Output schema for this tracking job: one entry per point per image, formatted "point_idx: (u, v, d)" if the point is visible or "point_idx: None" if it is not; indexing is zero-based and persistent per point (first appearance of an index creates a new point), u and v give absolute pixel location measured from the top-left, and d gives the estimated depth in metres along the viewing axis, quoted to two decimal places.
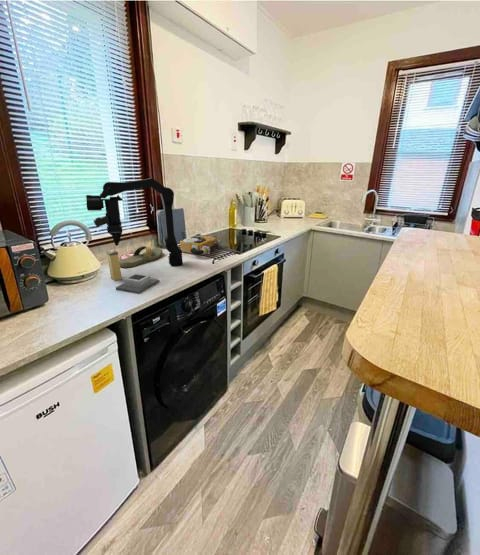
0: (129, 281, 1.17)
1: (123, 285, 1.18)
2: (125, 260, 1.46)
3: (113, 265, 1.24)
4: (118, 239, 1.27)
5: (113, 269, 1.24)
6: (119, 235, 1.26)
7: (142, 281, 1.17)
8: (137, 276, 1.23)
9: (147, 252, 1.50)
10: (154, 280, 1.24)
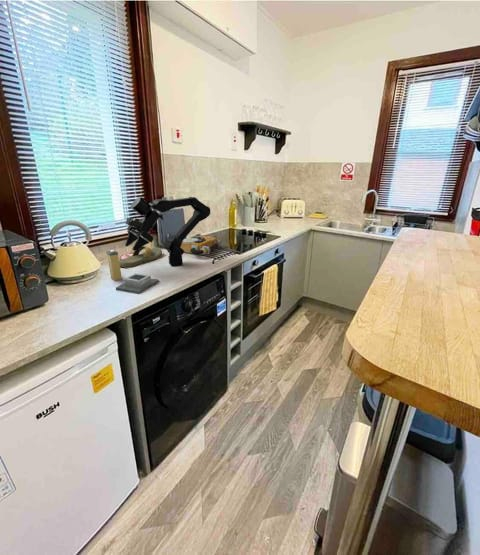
0: (129, 281, 1.17)
1: (123, 285, 1.18)
2: (124, 260, 1.46)
3: (113, 265, 1.24)
4: (139, 246, 1.26)
5: (113, 269, 1.24)
6: (143, 243, 1.26)
7: (142, 281, 1.17)
8: (137, 276, 1.23)
9: (146, 252, 1.50)
10: (154, 280, 1.24)
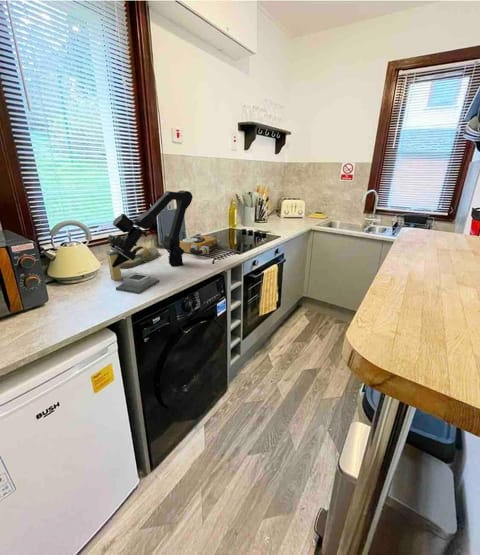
0: (129, 281, 1.17)
1: (123, 285, 1.18)
2: None
3: None
4: (119, 263, 1.24)
5: (113, 269, 1.24)
6: (124, 260, 1.25)
7: (142, 281, 1.17)
8: (137, 276, 1.23)
9: (145, 252, 1.51)
10: (154, 280, 1.24)
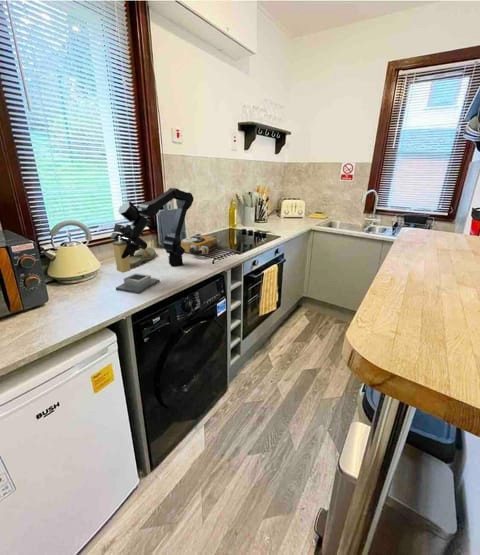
0: (129, 281, 1.17)
1: (123, 285, 1.18)
2: None
3: None
4: (129, 253, 1.18)
5: (122, 260, 1.17)
6: (133, 250, 1.19)
7: (142, 281, 1.17)
8: (137, 276, 1.23)
9: (144, 252, 1.51)
10: (154, 280, 1.24)
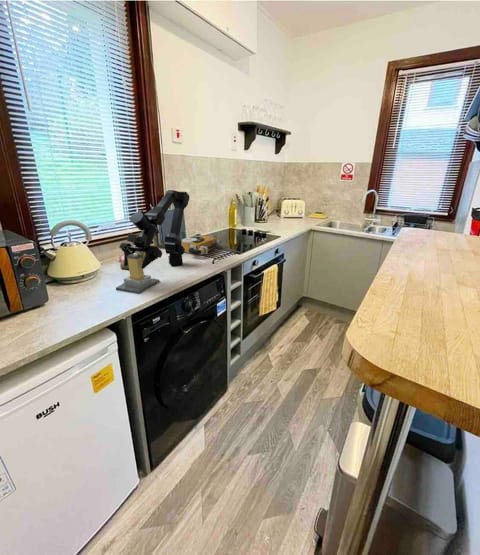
0: (129, 281, 1.17)
1: (123, 285, 1.18)
2: None
3: (138, 269, 1.16)
4: (148, 263, 1.17)
5: (138, 273, 1.17)
6: (151, 260, 1.18)
7: (142, 281, 1.17)
8: None
9: (144, 252, 1.51)
10: (154, 280, 1.24)
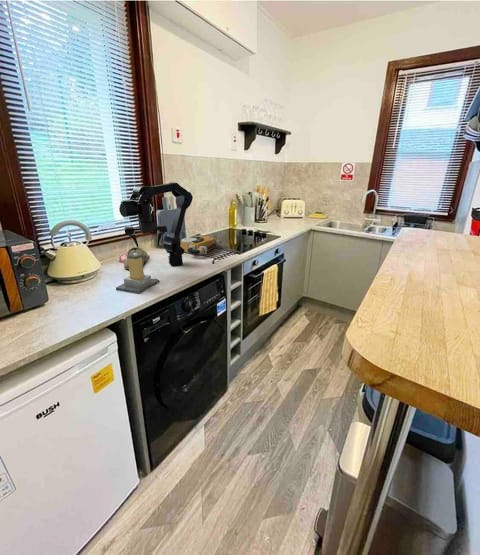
0: (129, 281, 1.17)
1: (123, 285, 1.18)
2: None
3: (138, 269, 1.16)
4: None
5: (138, 273, 1.17)
6: None
7: (142, 281, 1.17)
8: None
9: (143, 252, 1.51)
10: (154, 280, 1.24)
